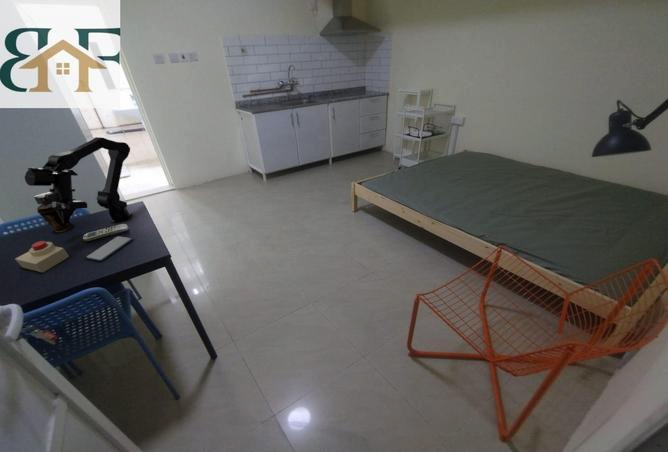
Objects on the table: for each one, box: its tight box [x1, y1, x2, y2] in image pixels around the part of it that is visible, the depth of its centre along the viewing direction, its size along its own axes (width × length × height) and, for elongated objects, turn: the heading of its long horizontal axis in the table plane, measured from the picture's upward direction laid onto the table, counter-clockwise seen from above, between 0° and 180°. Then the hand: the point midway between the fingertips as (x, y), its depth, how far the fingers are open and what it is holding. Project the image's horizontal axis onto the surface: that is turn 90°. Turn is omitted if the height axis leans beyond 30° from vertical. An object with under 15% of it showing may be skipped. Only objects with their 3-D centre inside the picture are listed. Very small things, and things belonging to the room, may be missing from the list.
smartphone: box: [86, 235, 133, 262], centre depth 118 cm, size 8×1×15 cm
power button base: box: [14, 241, 70, 274], centre depth 111 cm, size 10×12×6 cm
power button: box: [31, 240, 48, 251], centre depth 110 cm, size 4×4×2 cm
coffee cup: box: [36, 204, 73, 233], centre depth 131 cm, size 9×8×13 cm
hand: (64, 223), depth 117 cm, fingers closed
